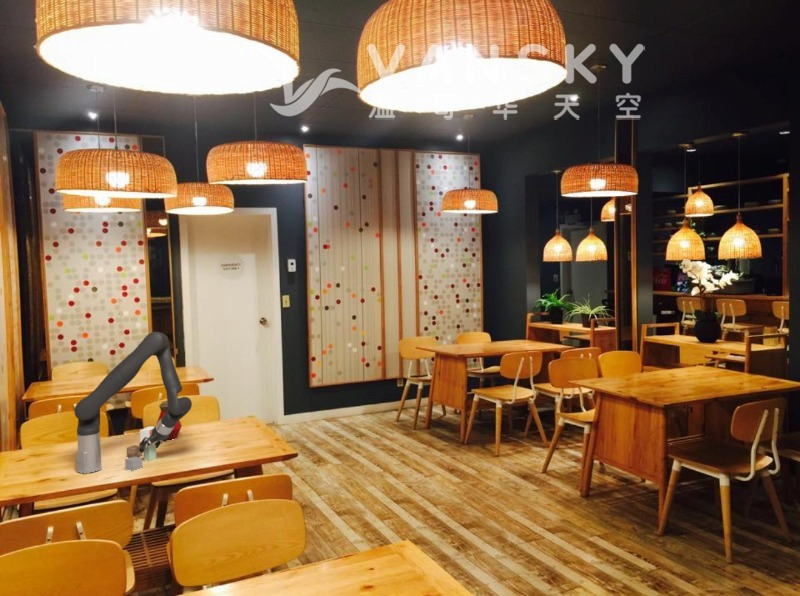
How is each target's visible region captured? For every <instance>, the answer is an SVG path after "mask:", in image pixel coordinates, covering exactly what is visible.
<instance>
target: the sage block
mask: <svg viewBox="0 0 800 596" xmlns="http://www.w3.org/2000/svg"><path fill="white" fill-rule="evenodd" d="M142 454H143V461H144V460H147V461H146V462H149V461H150V462H152V460H153V461H155V460H154V459H156V460H157V448H156V445H151V446H148V447H147V448H146V449H145V450H144V452H143V453H142Z"/></svg>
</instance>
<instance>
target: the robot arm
mask: <svg viewBox="0 0 800 596" xmlns="http://www.w3.org/2000/svg"><path fill="white" fill-rule="evenodd" d="M154 355H155V357H156V359H157V361H158V364H159V368H160V376H161V381H162V383H163V386H164V389H165V392H166V401H167V405H168V409H169V410H168V411H167V412H166V413H165V414H164V416H163V417H162V418H161V419H160V420H159V421H158V420H157V421H158V423H157V422H156V424H155V425H154V426H155V427H154V428H153V430H152V435H151V436H150V437H149V438H147V437H145V438H144V439H143V440H142V441H141V443H139V444H138V446H140V447H141V448H140V449H139V451H140V452H141V453H142V454H144V453H143V452H144V450H145V449H146V448H147V447H148V446H151V445H153V444H154V443H155V444H154V445H156V449H158V448H159V447H160V445H161V444H163V443H165V442H166V443H167V442H168V441H167V439H168V438H169V436H170V435H171V434H170V433H171V431H172V430H173V428H174V426H175V425H176V424H177V422H178V421H180V420H181V419H182V418H183V417H185V416H186V415H187V414H189V412H190V410H191V409H192V406H193V401H192V400H191V398H189V397H188V396H182V397H181V396H180V397H179V396H178V395H179V393H181V392H183V391H182V390H183V386H182V383H181V381H180V378H179V375H178V372H177V370H176V367H175V363H174V360H173V356H172V352H171V346H170V341H169V337H168V335H166V334H165V333H164V332H159V331H152V332H150V333H148V334H147V335H146V336H145V337H144V338H143V339H142V341H141V342H140V343H139V344H138V345H137V347H136V348H134V350H133V351H132V352H131V353H129V354H128V355H127V356H126V357H124V358H123V360H121V361H120V362H119V363H118V364H117V365H116V366H115V367H114V368H113V369H111V371H110V372H108V374H107V375H106V376H105V377H104V378H103V380H102V381H101V382H100V383H99V384H98V386H97V387H96V388H95V389H94V390H92V391H91V392H90V393H89V394H87V396H86V397H83V398H82V399H80V401H78V402H77V403H76V404H75V407H74V416H75V417H76V419H77V428H76V433H77V434H76V435H77V451H76V452H75V457H76V458H75V459H76V473H78V472H80V474H83V473H84V475H87V474H91V473H90V472H93V473H96V472H95V471H97V472H99V471H101V470H102V450H101V449H102V448H101V434H100V433H101V431H100V430H101V429H100V427H101V408H102V407H103V406H104V405H105V404H106V403H107V401H109V400H110V399H111V398H113V396H115V395H116V394H117V393H119V392H120V391H121V390H122V389H123V388H125V387H126V386H127V385H128V384H129V383H130V382H131V381H132V380H133V379H134V378H135V377H136V376H137V374H139V372H140V370H141V369H142V367H143V365H144V364H145V363H146V362H147V361H148V360H149V359H150V358H151V357H152V356H154ZM178 397H179V398H178ZM149 440H150V442H151V444H150V443H149ZM100 469H101V470H100ZM98 470H99V471H98ZM86 473H87V474H86Z"/></svg>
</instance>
